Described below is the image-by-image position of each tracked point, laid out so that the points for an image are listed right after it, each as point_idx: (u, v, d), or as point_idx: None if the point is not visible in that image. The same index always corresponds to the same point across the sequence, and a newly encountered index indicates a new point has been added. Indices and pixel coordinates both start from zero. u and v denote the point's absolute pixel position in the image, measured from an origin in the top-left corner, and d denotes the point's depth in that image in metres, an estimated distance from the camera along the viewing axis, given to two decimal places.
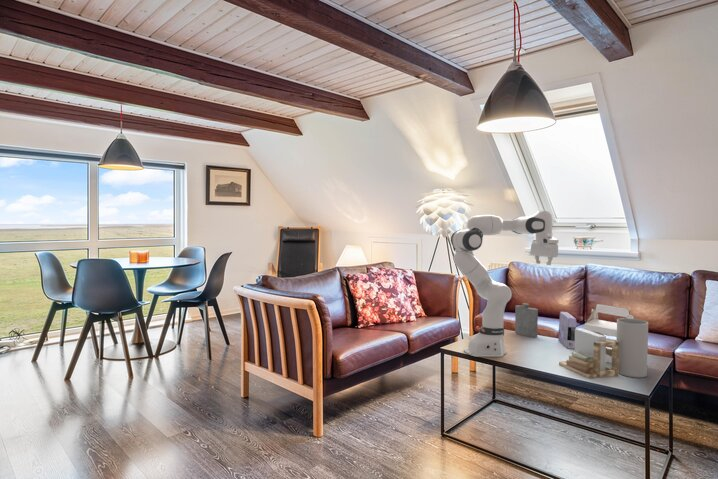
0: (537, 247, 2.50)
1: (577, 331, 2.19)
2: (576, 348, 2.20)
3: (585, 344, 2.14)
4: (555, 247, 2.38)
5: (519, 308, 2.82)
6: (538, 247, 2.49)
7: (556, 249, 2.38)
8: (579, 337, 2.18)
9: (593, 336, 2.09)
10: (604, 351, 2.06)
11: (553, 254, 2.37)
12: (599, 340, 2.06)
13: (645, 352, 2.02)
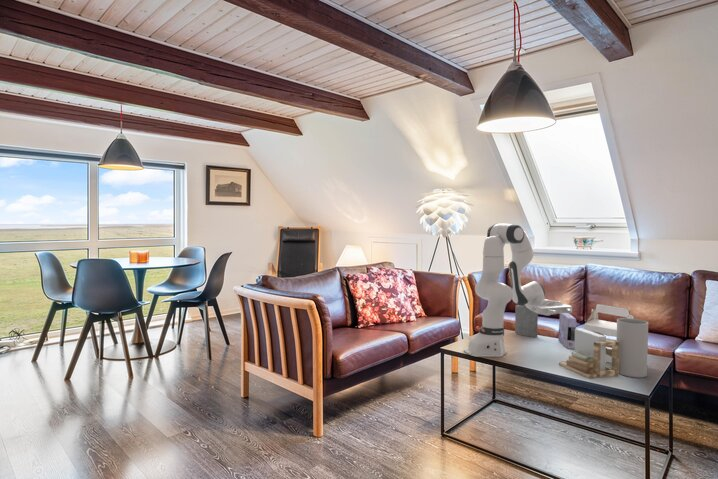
0: (546, 306, 2.41)
1: (577, 331, 2.19)
2: (576, 348, 2.20)
3: (585, 344, 2.14)
4: None
5: (519, 308, 2.82)
6: None
7: None
8: (579, 337, 2.18)
9: (593, 336, 2.09)
10: (604, 351, 2.06)
11: None
12: (599, 340, 2.06)
13: (645, 352, 2.02)
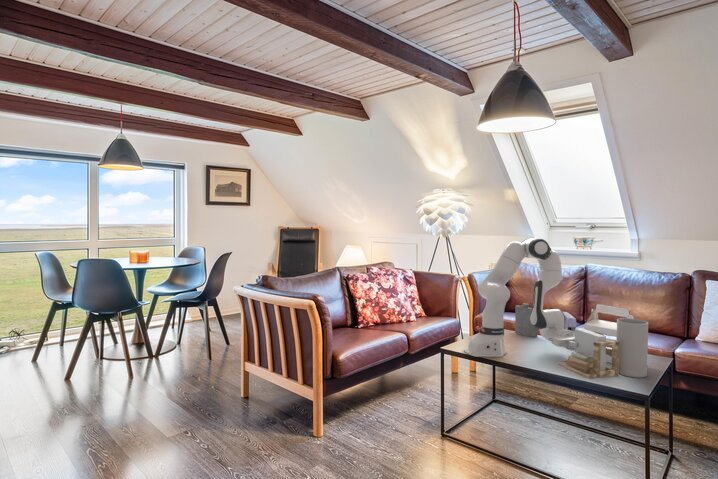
0: (564, 337, 2.27)
1: (577, 331, 2.19)
2: (576, 348, 2.20)
3: (585, 344, 2.14)
4: None
5: (519, 308, 2.82)
6: None
7: None
8: (579, 337, 2.18)
9: (593, 336, 2.09)
10: (604, 351, 2.06)
11: None
12: (599, 340, 2.06)
13: (645, 352, 2.02)
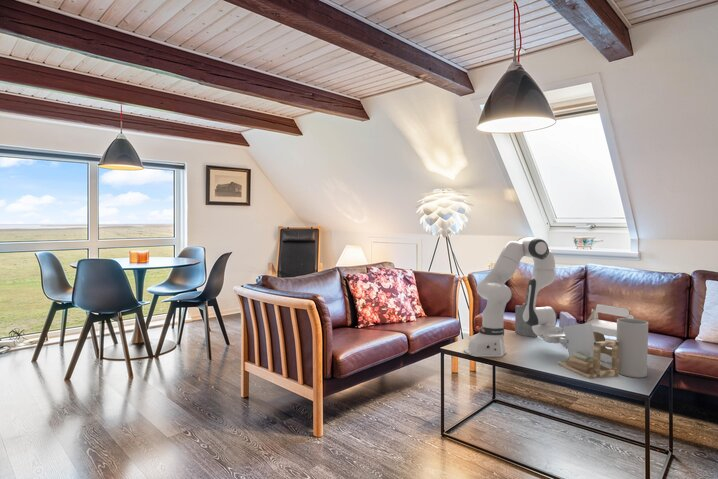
0: (554, 334, 2.34)
1: (566, 328, 2.27)
2: (568, 345, 2.25)
3: (575, 337, 2.20)
4: None
5: (519, 308, 2.82)
6: (555, 334, 2.34)
7: None
8: (569, 332, 2.25)
9: (579, 325, 2.17)
10: (593, 338, 2.13)
11: None
12: (585, 327, 2.14)
13: (645, 352, 2.02)
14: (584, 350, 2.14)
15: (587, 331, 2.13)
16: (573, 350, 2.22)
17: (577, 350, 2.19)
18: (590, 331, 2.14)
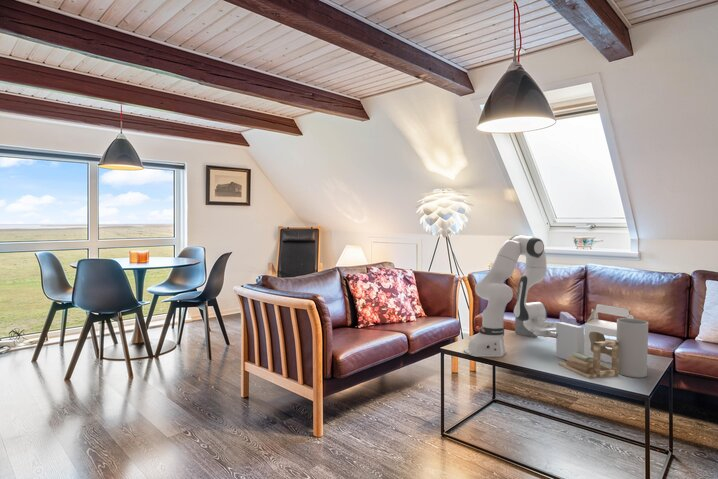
0: (544, 328, 2.42)
1: (558, 324, 2.33)
2: (558, 341, 2.33)
3: (565, 336, 2.27)
4: None
5: None
6: (545, 328, 2.42)
7: None
8: (560, 330, 2.31)
9: (572, 327, 2.22)
10: (583, 341, 2.20)
11: None
12: (577, 331, 2.19)
13: (645, 352, 2.02)
14: (572, 351, 2.22)
15: (579, 335, 2.19)
16: (561, 347, 2.31)
17: (565, 348, 2.27)
18: (581, 335, 2.20)
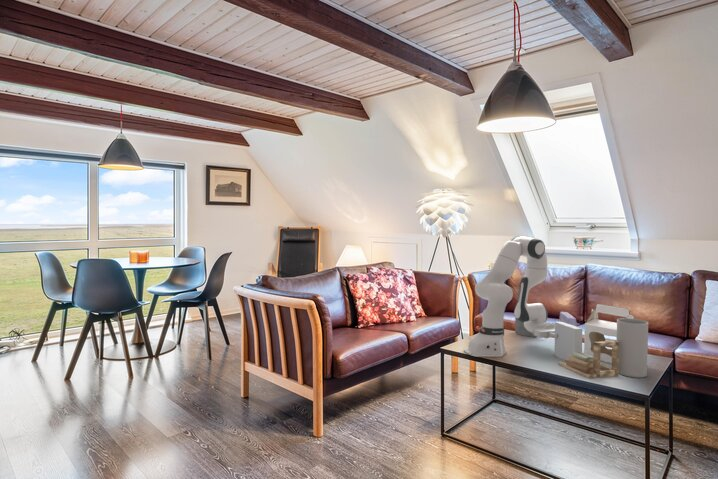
0: (545, 329, 2.42)
1: (557, 324, 2.34)
2: (556, 340, 2.35)
3: (564, 336, 2.29)
4: None
5: None
6: None
7: None
8: (559, 329, 2.33)
9: (570, 328, 2.24)
10: (580, 342, 2.21)
11: None
12: (576, 332, 2.21)
13: (645, 352, 2.02)
14: (570, 351, 2.24)
15: (577, 336, 2.21)
16: (559, 346, 2.33)
17: (563, 348, 2.29)
18: (579, 336, 2.21)
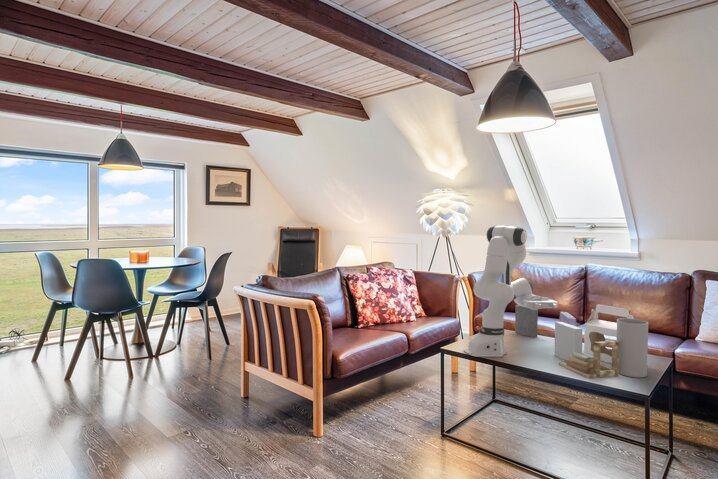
0: (533, 301, 2.55)
1: (557, 324, 2.34)
2: (556, 340, 2.35)
3: (564, 336, 2.29)
4: None
5: (519, 308, 2.82)
6: (534, 301, 2.55)
7: None
8: (559, 329, 2.33)
9: (571, 328, 2.24)
10: (581, 342, 2.21)
11: None
12: (576, 332, 2.21)
13: (645, 352, 2.02)
14: (570, 351, 2.24)
15: (577, 336, 2.21)
16: (559, 346, 2.32)
17: (563, 348, 2.29)
18: (579, 336, 2.21)
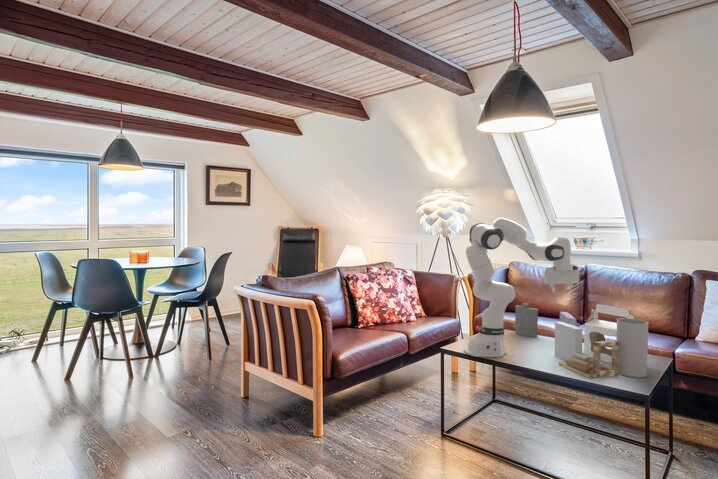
0: (558, 275, 2.41)
1: (557, 324, 2.34)
2: (556, 340, 2.35)
3: (564, 336, 2.29)
4: None
5: (519, 308, 2.82)
6: (559, 275, 2.41)
7: None
8: (559, 329, 2.33)
9: (571, 328, 2.24)
10: (581, 342, 2.21)
11: None
12: (576, 332, 2.21)
13: (645, 352, 2.02)
14: (570, 351, 2.24)
15: (577, 336, 2.21)
16: (559, 346, 2.32)
17: (563, 348, 2.29)
18: (580, 336, 2.21)
